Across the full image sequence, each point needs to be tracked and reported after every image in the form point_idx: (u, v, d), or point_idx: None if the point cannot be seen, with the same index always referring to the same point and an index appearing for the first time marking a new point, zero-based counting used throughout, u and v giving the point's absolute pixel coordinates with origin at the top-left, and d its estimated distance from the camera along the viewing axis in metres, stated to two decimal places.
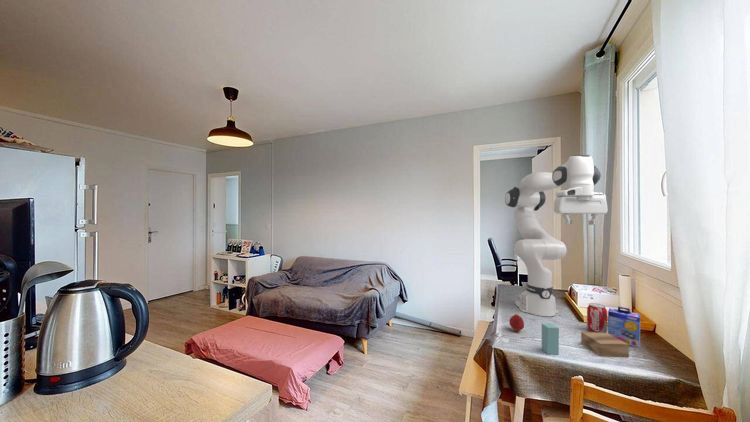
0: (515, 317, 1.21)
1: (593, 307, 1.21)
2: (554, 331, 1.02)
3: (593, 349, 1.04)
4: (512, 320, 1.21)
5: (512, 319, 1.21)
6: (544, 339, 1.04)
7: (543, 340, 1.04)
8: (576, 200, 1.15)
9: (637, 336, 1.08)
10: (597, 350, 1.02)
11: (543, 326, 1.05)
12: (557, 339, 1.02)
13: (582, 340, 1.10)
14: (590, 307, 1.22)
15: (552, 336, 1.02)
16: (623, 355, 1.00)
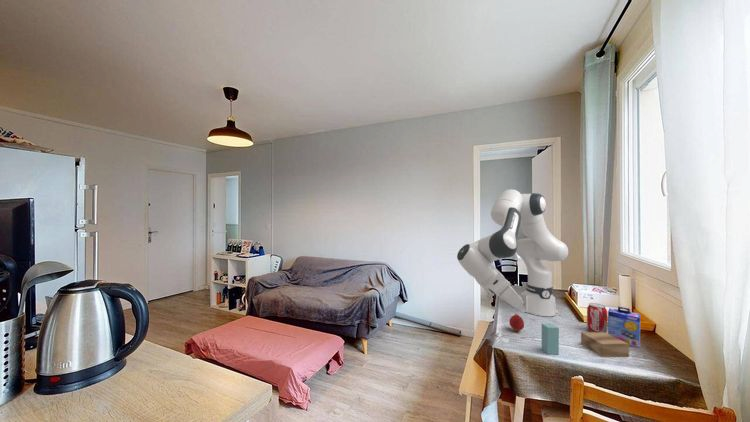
0: (515, 317, 1.21)
1: (593, 307, 1.21)
2: (553, 331, 1.02)
3: (594, 350, 1.04)
4: (512, 320, 1.21)
5: (512, 319, 1.21)
6: (544, 339, 1.04)
7: (543, 340, 1.04)
8: None
9: (637, 336, 1.08)
10: (598, 350, 1.02)
11: (543, 326, 1.05)
12: (557, 339, 1.02)
13: (582, 340, 1.10)
14: (590, 307, 1.22)
15: (552, 336, 1.02)
16: (623, 354, 1.01)
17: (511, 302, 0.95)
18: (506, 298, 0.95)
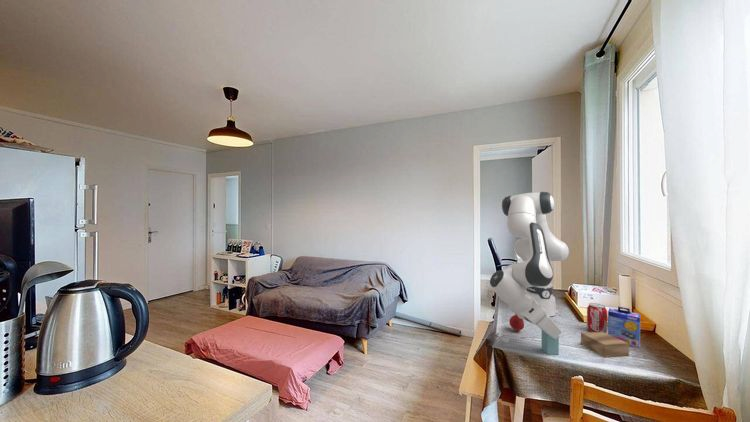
0: (515, 317, 1.21)
1: (593, 307, 1.21)
2: None
3: (595, 350, 1.04)
4: (512, 320, 1.21)
5: (512, 319, 1.21)
6: (544, 339, 1.04)
7: (543, 340, 1.04)
8: None
9: (637, 336, 1.08)
10: (600, 351, 1.02)
11: None
12: (557, 339, 1.02)
13: (582, 341, 1.09)
14: (590, 307, 1.22)
15: None
16: (624, 354, 1.01)
17: (548, 332, 0.94)
18: (543, 327, 0.95)
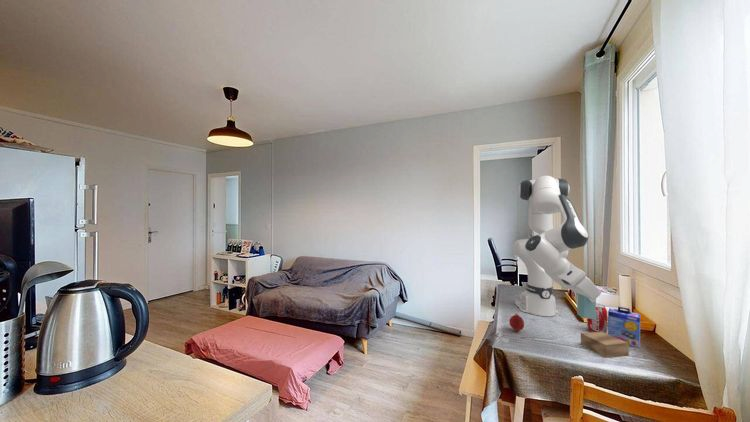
0: (515, 317, 1.21)
1: None
2: None
3: (596, 351, 1.03)
4: (512, 320, 1.21)
5: (512, 319, 1.21)
6: (580, 304, 1.04)
7: (579, 305, 1.05)
8: None
9: (637, 336, 1.08)
10: (601, 351, 1.01)
11: None
12: (594, 303, 1.02)
13: (582, 341, 1.09)
14: None
15: None
16: (624, 354, 1.01)
17: (588, 293, 0.94)
18: (583, 289, 0.95)
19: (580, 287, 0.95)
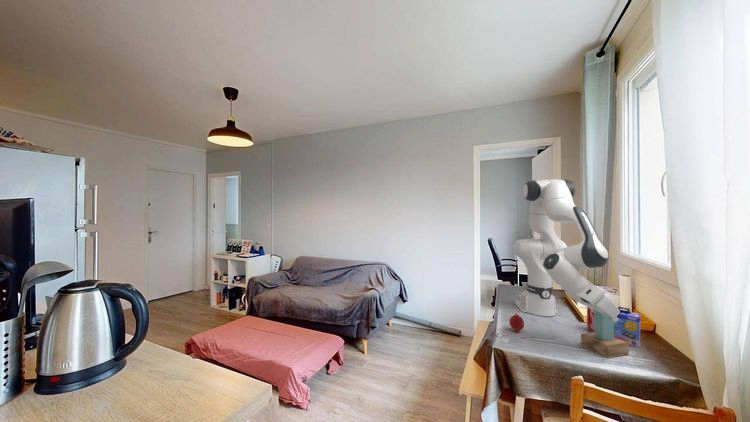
0: (515, 317, 1.21)
1: None
2: (608, 317, 1.04)
3: (597, 351, 1.03)
4: (512, 320, 1.21)
5: (512, 319, 1.21)
6: (598, 326, 1.06)
7: (597, 326, 1.07)
8: None
9: (637, 336, 1.08)
10: (603, 352, 1.01)
11: (596, 312, 1.07)
12: (612, 325, 1.04)
13: (582, 342, 1.09)
14: None
15: (607, 321, 1.04)
16: (624, 353, 1.01)
17: (608, 311, 0.96)
18: (602, 307, 0.97)
19: (600, 306, 0.97)
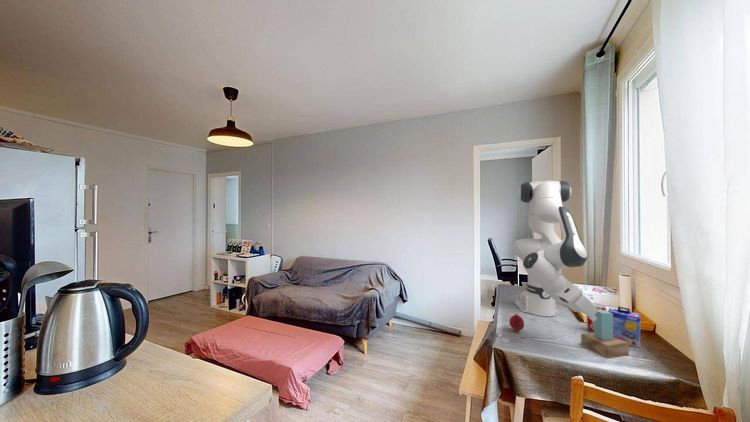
0: (515, 317, 1.21)
1: None
2: (607, 316, 1.04)
3: (597, 352, 1.03)
4: (512, 320, 1.21)
5: (512, 319, 1.21)
6: (597, 325, 1.06)
7: (596, 326, 1.07)
8: None
9: (637, 336, 1.08)
10: (603, 352, 1.01)
11: None
12: (611, 324, 1.04)
13: (582, 342, 1.08)
14: None
15: (606, 321, 1.04)
16: (624, 354, 1.01)
17: (586, 310, 0.96)
18: (580, 306, 0.96)
19: (578, 305, 0.96)
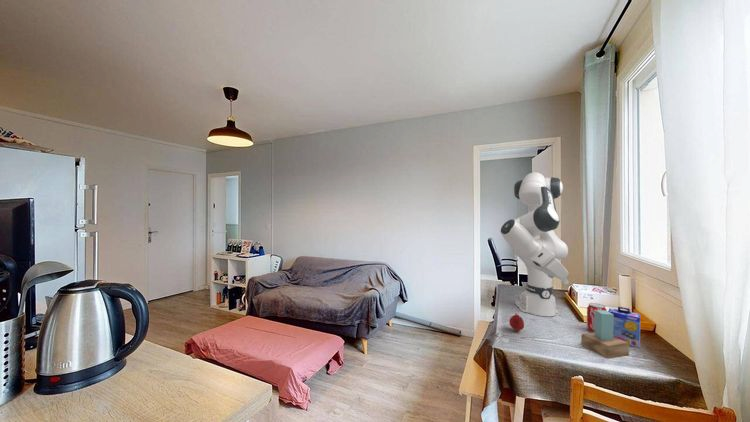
0: (515, 317, 1.21)
1: (593, 307, 1.21)
2: (608, 317, 1.03)
3: (597, 352, 1.03)
4: (512, 320, 1.21)
5: (512, 319, 1.21)
6: (597, 325, 1.06)
7: (596, 326, 1.07)
8: None
9: (637, 336, 1.08)
10: (603, 352, 1.01)
11: (597, 312, 1.07)
12: (612, 325, 1.03)
13: (583, 342, 1.08)
14: (590, 307, 1.22)
15: (607, 322, 1.04)
16: (624, 354, 1.01)
17: (556, 273, 0.99)
18: (552, 269, 0.99)
19: (549, 268, 1.00)
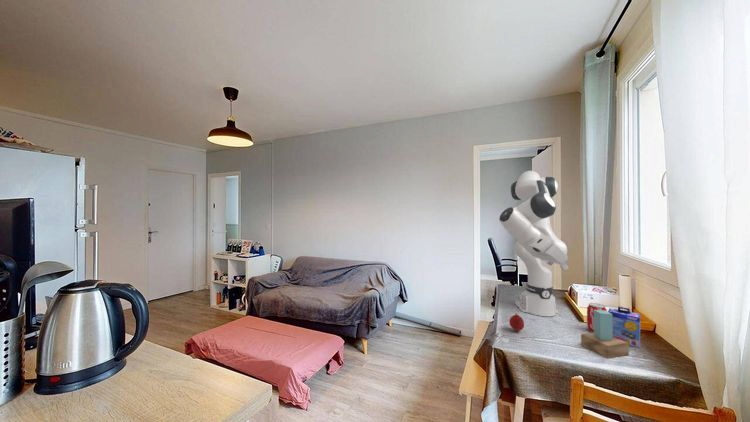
0: (515, 317, 1.21)
1: (593, 307, 1.21)
2: (607, 317, 1.04)
3: (597, 352, 1.03)
4: (512, 320, 1.21)
5: (512, 319, 1.21)
6: (596, 325, 1.06)
7: (596, 326, 1.07)
8: None
9: (637, 336, 1.08)
10: (603, 352, 1.01)
11: (595, 312, 1.07)
12: (611, 325, 1.03)
13: (582, 342, 1.08)
14: (590, 307, 1.22)
15: (606, 321, 1.04)
16: (624, 354, 1.01)
17: (556, 258, 1.00)
18: (551, 254, 1.00)
19: (549, 253, 1.01)
